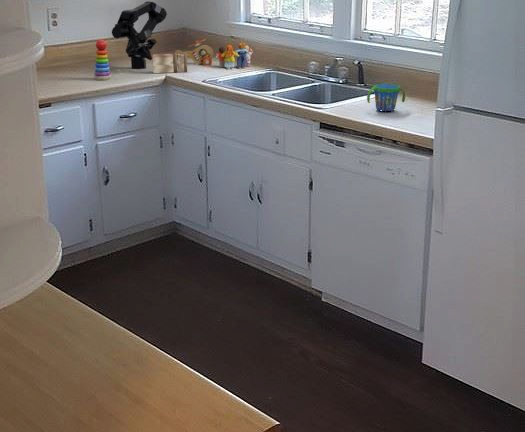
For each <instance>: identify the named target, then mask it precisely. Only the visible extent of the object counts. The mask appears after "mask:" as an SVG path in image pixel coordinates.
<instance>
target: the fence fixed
mask: <svg viewBox="0 0 525 432" xmlns="http://www.w3.org/2000/svg"><path fill="white" fill-rule="evenodd" d="M177 56H178V60H177V70H178V72H177V73H188V58H187V53H183V54H177Z"/></svg>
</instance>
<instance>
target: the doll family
mask: <svg viewBox="0 0 525 432" xmlns="http://www.w3.org/2000/svg"><path fill="white" fill-rule="evenodd" d="M237 46H238V49H236V50H234V48H233V46H232V45H231V44H227V45H226V47H223V46H222V47H221V46H220V47H219V48H218V53H216V56H215V59H218V58H219V60H218V62H219V68H221V69H222V68H223V69H225V70H227V71H232V70H233V71H234V70H235V68H234V67H235V62H236V68H237V69H245V68H250V67H251V65H250V64H251V56H252V54H253V53H254V52H253V49H252V48H250V47H249V45H246V42H239V43H238V44H237ZM235 57H237V59H235ZM236 60H237V61H236Z"/></svg>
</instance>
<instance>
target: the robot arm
mask: <svg viewBox="0 0 525 432" xmlns="http://www.w3.org/2000/svg"><path fill="white" fill-rule="evenodd" d="M145 14H148V15H147V16H148V20H147V21H146V23H145V24H144V26H143V27H142V29H141V30H140V32H138V31H137V30H136V28H135V27H134V26H135V23H136V22H137V21H139V18H140V17H142V16H143V15H145ZM167 15H168V13H167V10H166V9H165V8H164V7H162V6H160V5H158V4H157V3H156V2H154V1H149V0H147V1H145V2H144V3H142V4H140V5H138V6H136V7H134V8H131V9H125V10H122V11H121V13H120V15H119V18H118V20H117V22H116V24H115V23H114V26H113V28H112V29H111V35H112V37H113V38H114V39H122V38H127V45H126V48H125V53H126V54H127V57H128V58H130V62H131V65H130V66H131V69H132V70H145V69H146V68H147V60H149V61H153V56H152V54H151V51H150V50H152V49H153V48H154V46H155V45H156V44H157V43H158V42H157V40H156V39H155V38H151V37H152V36H153V32H154V30H155V28H156V26H158V25H159V24H161V23H162V22H163V21H164V20H165V19H166V18H167ZM146 59H147V60H146Z"/></svg>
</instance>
